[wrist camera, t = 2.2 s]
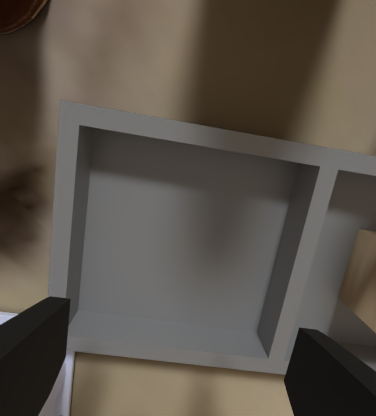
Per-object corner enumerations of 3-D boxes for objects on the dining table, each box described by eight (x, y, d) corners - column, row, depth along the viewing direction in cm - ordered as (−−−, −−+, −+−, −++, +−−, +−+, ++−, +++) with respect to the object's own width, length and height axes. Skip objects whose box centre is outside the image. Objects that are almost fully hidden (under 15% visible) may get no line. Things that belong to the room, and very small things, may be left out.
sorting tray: (433, 361, 21) (474, 395, 18) (64, 316, 19) (44, 347, 16) (508, 183, 18) (572, 191, 15) (81, 108, 16) (59, 100, 13)
